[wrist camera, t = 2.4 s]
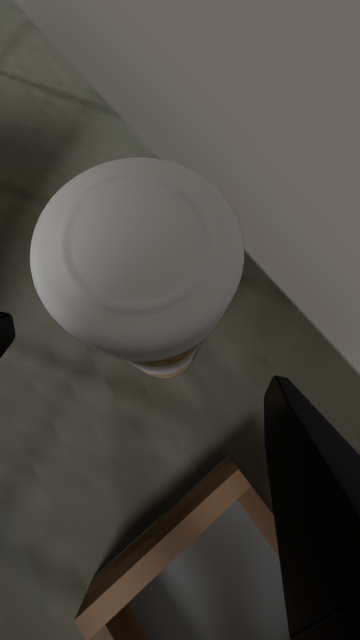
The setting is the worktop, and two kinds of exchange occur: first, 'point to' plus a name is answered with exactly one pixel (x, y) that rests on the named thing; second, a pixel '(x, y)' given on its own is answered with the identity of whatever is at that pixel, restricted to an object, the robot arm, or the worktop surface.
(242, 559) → the square wooden tray
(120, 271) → the sprinkles bottle
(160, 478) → the worktop surface
